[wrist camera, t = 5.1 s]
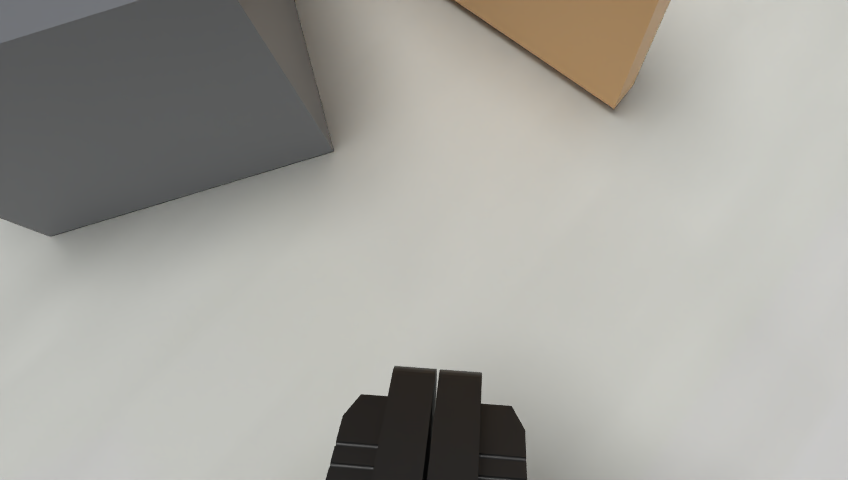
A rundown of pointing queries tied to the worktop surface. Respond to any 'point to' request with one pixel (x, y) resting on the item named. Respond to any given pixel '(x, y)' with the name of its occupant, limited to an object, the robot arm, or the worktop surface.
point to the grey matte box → (146, 103)
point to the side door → (581, 37)
